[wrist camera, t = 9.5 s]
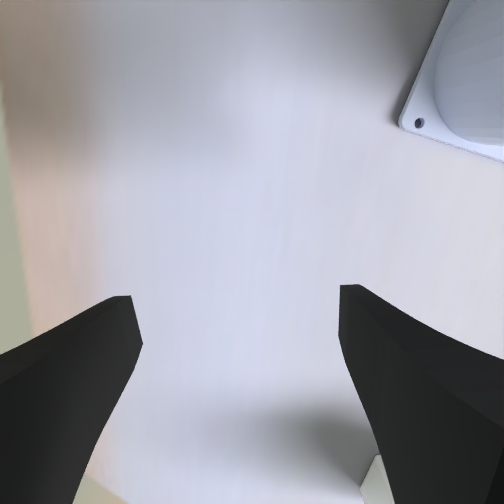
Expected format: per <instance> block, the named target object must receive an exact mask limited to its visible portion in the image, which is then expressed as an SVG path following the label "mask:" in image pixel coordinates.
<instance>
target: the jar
mask: <svg viewBox="0 0 504 504" xmlns="http://www.w3.org/2000/svg"><path fill="white" fill-rule="evenodd" d="M360 491H361V494H362V498H363V502H364V504H395V503H394V499H393V496H392V492H391V489H390V485H389V482H388V478H387V475H386V471H385V468H384V465H383V461H382V458H381V455H380V454H379V455H376V456H375V458H374V460H373V462H372V464H371V466H370V469H369V471H368V473H367V475H366V477H365V479H364V481H363V483H362V485H361V487H360Z"/></svg>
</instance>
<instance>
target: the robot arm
mask: <svg viewBox="0 0 504 504" xmlns="http://www.w3.org/2000/svg"><path fill="white" fill-rule="evenodd" d="M418 118H419V119H420V120H421V125H420V126H419V127H418V128H416V127H415V125H414V123H415V121H416V119H418ZM398 123H399V127H400V128H401V129H402V130H405V131H408V132H411V133H414V134H417V135H420V136H423V137H426V138H429V139H433V140H436V141H439V142H442V143H445V144H448V145H451V146H454V147H457V148H461V149H464V150H467V151H470V152H473V153H476V154H479V155H482V156H485V157H489V158H492V159H495V160H498V161H501V162H504V0H450V1H449V3H448V5H447V8H446V10H445V12H444V15H443V17H442V19H441V22H440V24H439V26H438V29H437V31H436V33H435V36H434V38H433V40H432V43H431V45H430V47H429V50H428V52H427V54H426V57H425V59H424V61H423V64H422V66H421V68H420V71H419V73H418V75H417V78H416V80H415V82H414V85H413V87H412V89H411V91H410V94H409V96H408V98H407V101H406V103H405V105H404V108H403V110H402V112H401V115H400V117H399V121H398ZM338 336H339V340H340V344H341V348H342V352H343V356H344V360H345V363H346V366H347V368H348V371H349V373H350V376H351V378H352V381H353V383H354V386H355V388H356V390H357V393H358V395H359V398H360V400H361V403H362V405H363V408H364V410H365V412H366V415H367V417H368V420H369V422H370V425H371V427H372V430H373V433H374V436H375V438H376V441H377V445H378V448H379V451H380V455H381V458H382V461H383V465H384V468H385V471H386V475H387V478H388V482H389V485H390V489H391V492H392V496H393V499H394V503H395V504H504V360H503V359H500V358H498V357H495V356H492V355H490V354H487V353H485V352H482V351H480V350H477V349H475V348H473V347H470V346H468V345H466V344H464V343H462V342H459V341H457V340H455V339H453V338H451V337H449V336H446V335H444V334H442V333H440V332H438V331H436V330H434V329H433V328H431V327H429V326H427V325H425V324H423V323H422V322H420V321H418V320H416V319H414V318H413V317H411V316H409V315H408V314H406V313H404V312H403V311H401V310H399V309H398V308H396V307H394V306H393V305H391V304H390V303H388V302H387V301H385V300H383V299H382V298H380V297H379V296H377V295H376V294H374V293H373V292H371V291H369V290H368V289H366V288H365V287H363V286H361V285H359V284H354V285H340V305H339V332H338ZM142 345H143V342H142V338H141V334H140V330H139V326H138V322H137V318H136V314H135V310H134V306H133V302H132V298H131V296H114V297H111V298H109V299H106V300H104V301H102V302H100V303H98V304H96V305H95V306H93V307H91V308H89V309H87V310H85V311H84V312H82V313H80V314H78V315H76V316H75V317H73V318H71V319H69V320H67V321H66V322H64V323H62V324H60V325H58V326H57V327H55V328H53V329H51V330H49V331H47V332H45V333H43V334H41V335H39V336H37V337H35V338H34V339H32V340H30V341H28V342H26V343H24V344H22V345H20V346H18V347H16V348H14V349H11V350H9V351H8V352H5V353H3V354H1V355H0V504H72V503H73V500H74V498H75V495H76V492H77V490H78V487H79V484H80V482H81V479H82V477H83V474H84V472H85V469H86V467H87V464H88V462H89V459H90V457H91V455H92V452H93V450H94V447H95V445H96V443H97V441H98V439H99V437H100V434H101V432H102V430H103V428H104V427H105V425H106V423H107V421H108V419H109V417H110V415H111V413H112V411H113V409H114V407H115V405H116V404H117V402H118V400H119V398H120V396H121V394H122V392H123V390H124V388H125V386H126V384H127V382H128V380H129V378H130V377H131V374H132V372H133V370H134V368H135V365H136V363H137V360H138V357H139V354H140V351H141V348H142Z"/></svg>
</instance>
